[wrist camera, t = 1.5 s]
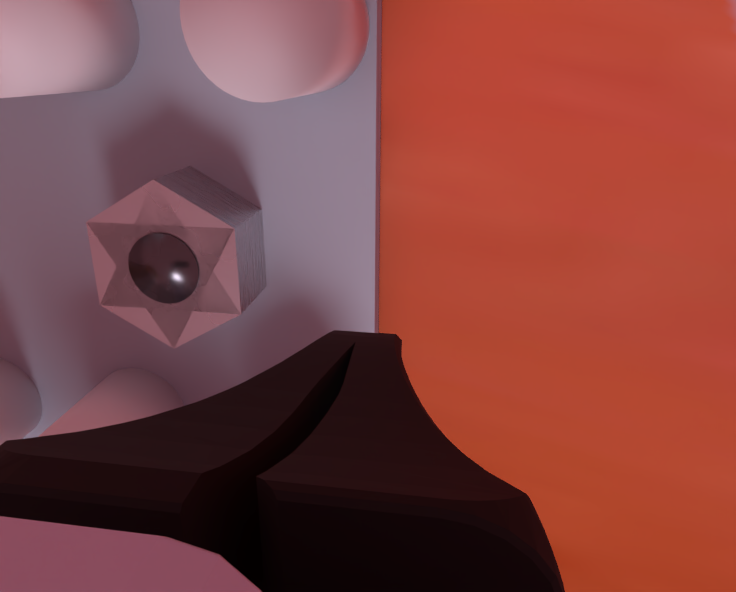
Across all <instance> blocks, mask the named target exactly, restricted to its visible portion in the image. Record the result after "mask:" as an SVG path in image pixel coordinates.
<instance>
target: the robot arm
mask: <svg viewBox="0 0 736 592" xmlns="http://www.w3.org/2000/svg"><path fill="white" fill-rule="evenodd" d="M401 349H402V340H401V339H400V338H399V337H398V336H397V335H396V334H384V333H370V332H355V331H340V330H334V331H331V332H329V333H327V334H326V335H324V336H322V337H321V338H319V339H317V340H316V341H314V342H313V343H311V344H309V345H308V346H306V347H305V348H303V349H301V350H300V351H298V352H297V353H295V354H293V355H292V356H290V357H288V358H287V359H285V360H284V361H282V362H280V363H278V364H277V365H275V366H273V367H271V368H269V369H267V370H265V371H264V372H262V373H260V374H258V375H256V376H254V377H252V378H251V379H249V380H247V381H245V382H243V383H241V384H239V385H237V386H234V387H232V388H230V389H228V390H225V391H223V392H220V393H218V394H215V395H213V396H210V397H208V398H206V399H203V400H200V401H197V402H195V403H192V404H188V405H185V406H182V407H179V408H175V409H172V410H169V411H166V412H163V413H159V414H156V415H153V416H149V417H145V418H141V419H137V420H133V421H129V422H125V423H120V424H115V425H110V426H105V427H100V428H95V429H90V430H84V431H78V432H71V433H64V434H56V435H48V436H41V437H33V438H26V439H16V440H7V441H5V442H4V443H3V444H1V445H0V592H565V591H564V586H563V582H562V579H561V575H560V572H559V569H558V566H557V563H556V560H555V557H554V554H553V551H552V548H551V546H550V543H549V540H548V538H547V535H546V533H545V530H544V528H543V526H542V523H541V521H540V519H539V517H538V515H537V512H536V510H535V508H534V506H533V504H532V502H531V500H530V498H529V497H528V495H527V494H526V493H524V492H522V491H520V490H519V489H517V488H515V487H513V486H512V485H510V484H508V483H506V482H505V481H503V480H501V479H499V478H498V477H496V476H494V475H492V474H490V473H489V472H487V471H486V470H484V469H483V468H482V467H480V466H479V465H478V464H476V463H475V462H474V461H472V460H471V459H470V458H468V457H467V456H466V455H464V454H463V453H462V452H461V451H460V450H459V449H458V448H457V447H456V446H455V445H453V444H452V443H451V442H450V441H449V440H448V439H447V438H446V437H445V435H444V434H443V433H442V432H441V431H440V430H439V428H438V427H437V426H436V425H435V423H434V422H433V420H432V419H431V418H430V416H429V415H428V414H427V412H426V410H425V409H424V407H423V406H422V404H421V402H420V401H419V399H418V397H417V395H416V393H415V391H414V389H413V387H412V385H411V383H410V381H409V378H408V375H407V373H406V370H405V368H404V365H403V361H402V357H401Z"/></svg>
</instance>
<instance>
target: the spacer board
mask: <svg viewBox="0 0 736 592" xmlns="http://www.w3.org/2000/svg"><path fill="white" fill-rule="evenodd" d="M381 33H382V0H0V445H1V444H3V443H4V442H5V441H7V440H16V439H26V438H33V437H41V436H48V435H56V434H64V433H71V432H78V431H84V430H90V429H95V428H100V427H105V426H110V425H115V424H120V423H125V422H129V421H133V420H137V419H141V418H145V417H149V416H153V415H156V414H159V413H163V412H166V411H169V410H172V409H175V408H179V407H182V406H185V405H188V404H192V403H195V402H197V401H200V400H203V399H206V398H208V397H210V396H213V395H215V394H218V393H220V392H223V391H225V390H228V389H230V388H232V387H234V386H237V385H239V384H241V383H243V382H245V381H247V380H249V379H251V378H252V377H254V376H256V375H258V374H260V373H262V372H264V371H265V370H267V369H269V368H271V367H273V366H275V365H277V364H278V363H280V362H282V361H284V360H285V359H287V358H288V357H290V356H292V355H293V354H295V353H297V352H298V351H300V350H301V349H303V348H305V347H306V346H308V345H309V344H311V343H313V342H314V341H316V340H317V339H319V338H321V337H322V336H324V335H326V334H327V333H329V332H331V331H334V330H340V331H355V332H370V333H378V332H379V232H380V133H381ZM188 166H192V167H194V168H195V169H197V170H199V171H200V172H202V173H204V174H205V175H207V176H209V177H210V178H212V179H214V180H215V181H217V182H219V183H220V184H222V185H223V186H225V187H227V188H228V189H230V190H232V191H233V192H235V193H237V194H238V195H240V196H242V197H243V198H245V199H246V200H248V201H250V202H251V203H253V204H255V205H256V206H258V207H260V208H261V209H262V216H263V232H264V249H265V265H266V282H267V286H266V288H265V289H264V290H263V291H262V292H261V293H260V294H259V295H258V296H257V297H256V299H255V300H254V301H253V302H252V303H251V304H250V305H249V306H248V307H247V308H246V310H245V311H244V312H243V313H242V314H241V315H239V316H237V317H235V318H233V319H231V320H229V321H227V322H225V323H223V324H221V325H219V326H218V327H216V328H214V329H212V330H210V331H208V332H206V333H204V334H202V335H200V336H198V337H196V338H194V339H192V340H190V341H188V342H186V343H184V344H182V345H180V346H178V347H177V348H175V349H174V348H172V347H170V346H169V345H167V344H165V343H163V342H162V341H160V340H158V339H157V338H155V337H153V336H152V335H150V334H148V333H146V332H145V331H143V330H141V329H140V328H138V327H136V326H135V325H133V324H131V323H129V322H128V321H126V320H124V319H123V318H121V317H119V316H118V315H116V314H114V313H112V312H111V311H109V310H107V309H106V308H104V307H102V306H101V305H100V303H99V297H98V291H97V285H96V279H95V273H94V267H93V261H92V255H91V249H90V243H89V237H88V231H87V225H86V222H87V221H88V220H90V219H91V218H93V217H95V216H96V215H98V214H99V213H101V212H102V211H104V210H106V209H107V208H109V207H110V206H112V205H114V204H115V203H117V202H118V201H120V200H121V199H123V198H125V197H126V196H128V195H129V194H131V193H133V192H134V191H136V190H137V189H139V188H140V187H142V186H144V185H145V184H147V183H148V182H150V181H152V180H153V179H156V178H158V177H161V176H164V175H166V174H169V173H172V172H175V171H177V170H180V169H183V168H185V167H188Z"/></svg>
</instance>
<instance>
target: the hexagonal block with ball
mask: <svg viewBox="0 0 736 592" xmlns="http://www.w3.org/2000/svg"><path fill="white" fill-rule="evenodd" d="M86 225H87V231H88V237H89V243H90V249H91V255H92V261H93V267H94V273H95V279H96V285H97V291H98V297H99V303H100V305H101V306H102V307H104V308H106V309H107V310H109V311H111V312H112V313H114V314H116V315H118V316H119V317H121V318H123V319H124V320H126V321H128V322H129V323H131V324H133V325H135V326H136V327H138V328H140V329H141V330H143V331H145V332H146V333H148V334H150V335H152V336H153V337H155V338H157V339H158V340H160V341H162V342H163V343H165V344H167V345H169V346H170V347H172V348H174V349H175V348H177V347H178V346H180V345H182V344H184V343H186V342H188V341H190V340H192V339H194V338H196V337H198V336H200V335H202V334H204V333H206V332H208V331H210V330H212V329H214V328H216V327H218V326H219V325H221V324H223V323H225V322H227V321H229V320H231V319H233V318H235V317H237V316H239V315H241V314H242V313H243V312H244V311H245V310H246V308H247V307H248V306H249V305H250V304H251V303H252V302H253V301H254V300H255V299H256V297H257V296H258V295H259V294H260V293H261V292H262V291H263V290H264V289H265V288H266V286H267V282H266V265H265V249H264V232H263V216H262V209H261V208H260V207H258V206H256V205H255V204H253V203H251V202H250V201H248V200H246V199H245V198H243V197H242V196H240V195H238V194H237V193H235V192H233V191H232V190H230V189H228V188H227V187H225V186H223V185H222V184H220V183H219V182H217V181H215V180H214V179H212V178H210V177H209V176H207V175H205V174H204V173H202V172H200V171H199V170H197V169H195V168H194V167H192V166H188V167H185V168H183V169H180V170H177V171H175V172H172V173H169V174H166V175H164V176H161V177H158V178H156V179H153V180H152V181H150V182H148V183H147V184H145V185H144V186H142V187H140V188H139V189H137V190H136V191H134V192H133V193H131V194H129V195H128V196H126V197H125V198H123V199H121V200H120V201H118V202H117V203H115V204H114V205H112V206H110V207H109V208H107V209H106V210H104V211H102V212H101V213H99V214H98V215H96V216H95V217H93V218H91V219H90V220H88V221H87V222H86Z"/></svg>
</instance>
